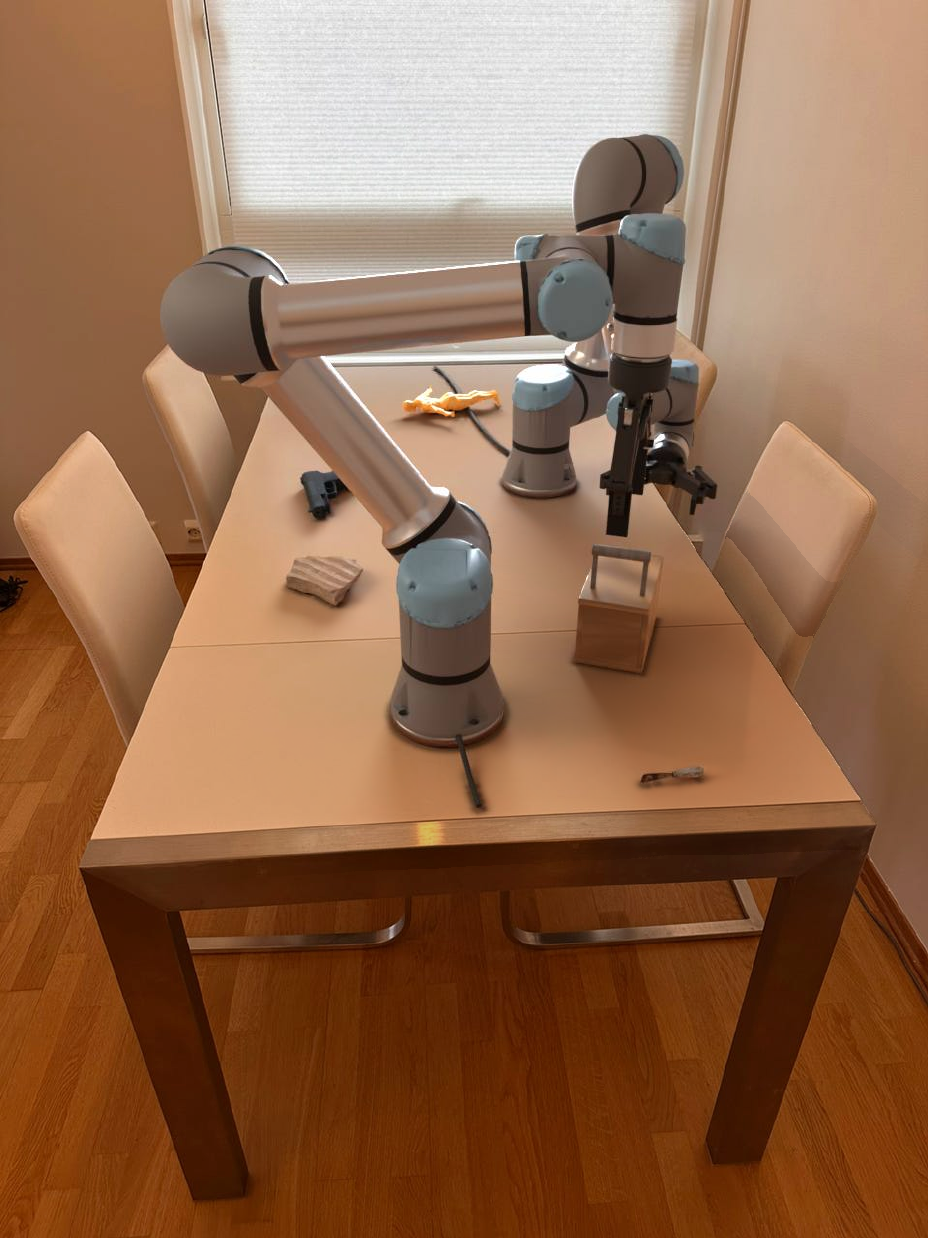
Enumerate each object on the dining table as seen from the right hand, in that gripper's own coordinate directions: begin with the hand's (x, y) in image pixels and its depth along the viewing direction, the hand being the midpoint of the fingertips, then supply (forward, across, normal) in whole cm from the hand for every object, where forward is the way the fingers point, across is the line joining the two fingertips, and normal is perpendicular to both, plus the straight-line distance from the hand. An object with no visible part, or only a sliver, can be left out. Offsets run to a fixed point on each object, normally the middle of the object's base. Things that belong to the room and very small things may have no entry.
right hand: (651, 503), depth 150 cm
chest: (+25, +1, -12) cm, 28 cm away
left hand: (+30, 0, +11) cm, 32 cm away
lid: (+26, +1, -2) cm, 26 cm away
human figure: (-68, +59, -9) cm, 90 cm away
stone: (+24, +51, -10) cm, 57 cm away
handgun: (-9, +64, -10) cm, 65 cm away
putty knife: (+54, -11, -13) cm, 57 cm away
